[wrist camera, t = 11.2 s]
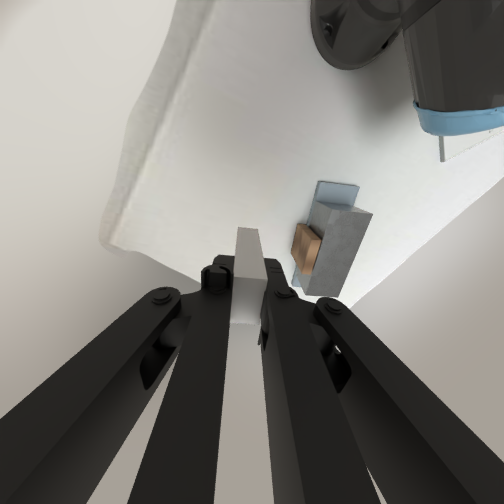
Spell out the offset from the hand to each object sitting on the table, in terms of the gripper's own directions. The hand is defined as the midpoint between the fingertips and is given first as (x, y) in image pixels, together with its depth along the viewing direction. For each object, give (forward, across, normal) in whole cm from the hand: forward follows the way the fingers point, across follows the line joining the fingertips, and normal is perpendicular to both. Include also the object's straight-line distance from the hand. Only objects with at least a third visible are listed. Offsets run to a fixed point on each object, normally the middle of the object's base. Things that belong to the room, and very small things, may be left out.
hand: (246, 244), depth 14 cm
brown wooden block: (+29, +19, -10) cm, 36 cm away
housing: (+29, +21, -10) cm, 37 cm away
